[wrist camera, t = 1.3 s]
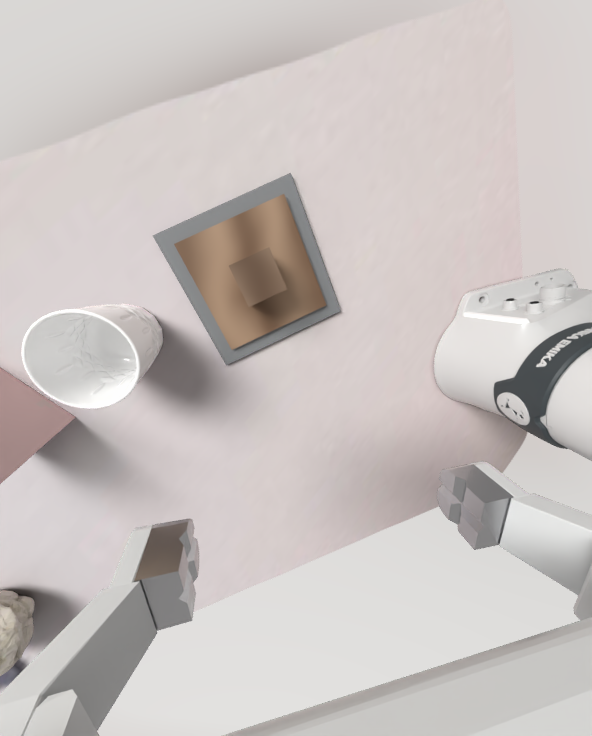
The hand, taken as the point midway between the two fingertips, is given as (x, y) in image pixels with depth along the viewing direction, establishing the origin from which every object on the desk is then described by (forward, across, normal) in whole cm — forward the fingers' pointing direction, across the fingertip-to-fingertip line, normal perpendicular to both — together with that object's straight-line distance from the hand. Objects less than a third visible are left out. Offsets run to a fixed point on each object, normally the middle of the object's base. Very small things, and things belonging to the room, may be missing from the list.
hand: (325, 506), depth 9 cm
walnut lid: (+26, 0, -7) cm, 27 cm away
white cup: (+27, +14, -1) cm, 30 cm away
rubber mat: (+26, 0, -7) cm, 27 cm away
